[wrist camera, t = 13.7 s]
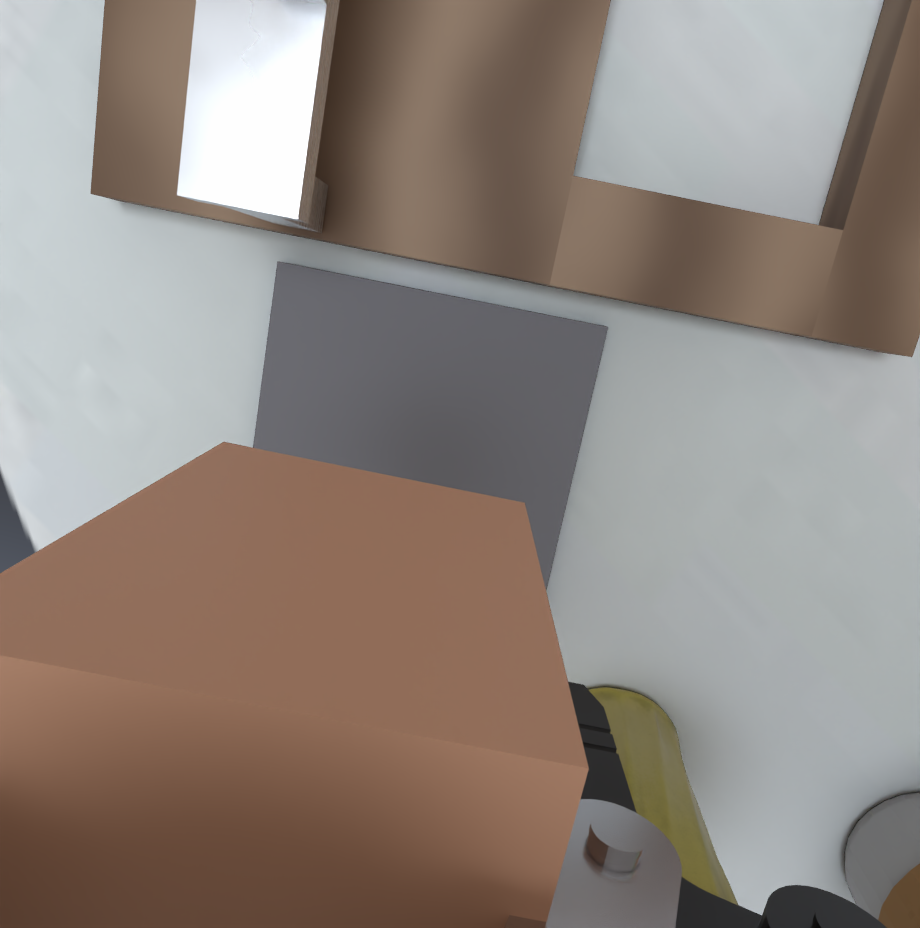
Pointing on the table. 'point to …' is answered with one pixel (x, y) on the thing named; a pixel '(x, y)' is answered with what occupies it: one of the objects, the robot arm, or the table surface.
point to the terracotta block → (284, 708)
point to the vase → (662, 784)
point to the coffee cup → (887, 862)
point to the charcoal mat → (429, 389)
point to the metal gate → (258, 108)
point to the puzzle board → (543, 166)
